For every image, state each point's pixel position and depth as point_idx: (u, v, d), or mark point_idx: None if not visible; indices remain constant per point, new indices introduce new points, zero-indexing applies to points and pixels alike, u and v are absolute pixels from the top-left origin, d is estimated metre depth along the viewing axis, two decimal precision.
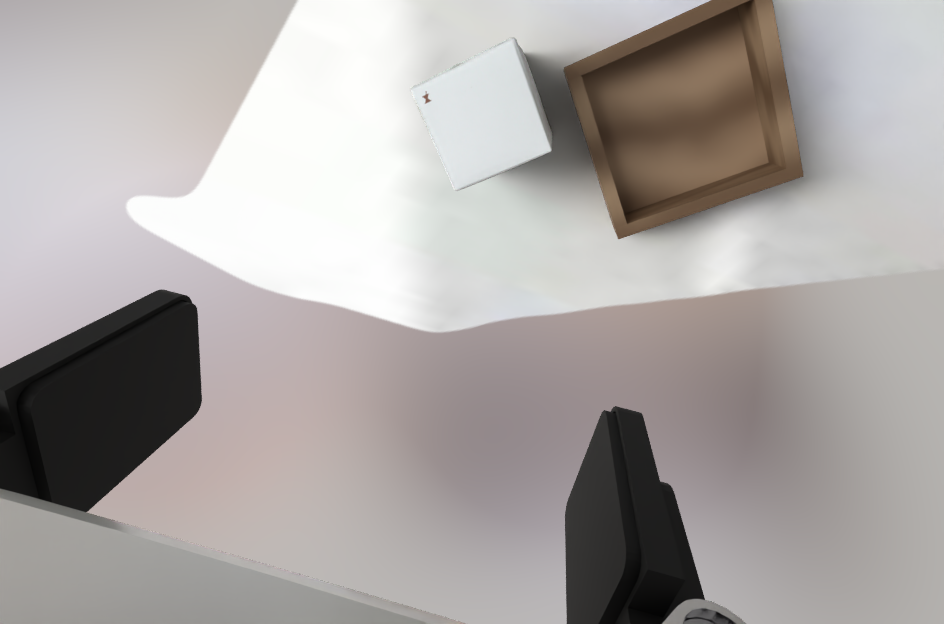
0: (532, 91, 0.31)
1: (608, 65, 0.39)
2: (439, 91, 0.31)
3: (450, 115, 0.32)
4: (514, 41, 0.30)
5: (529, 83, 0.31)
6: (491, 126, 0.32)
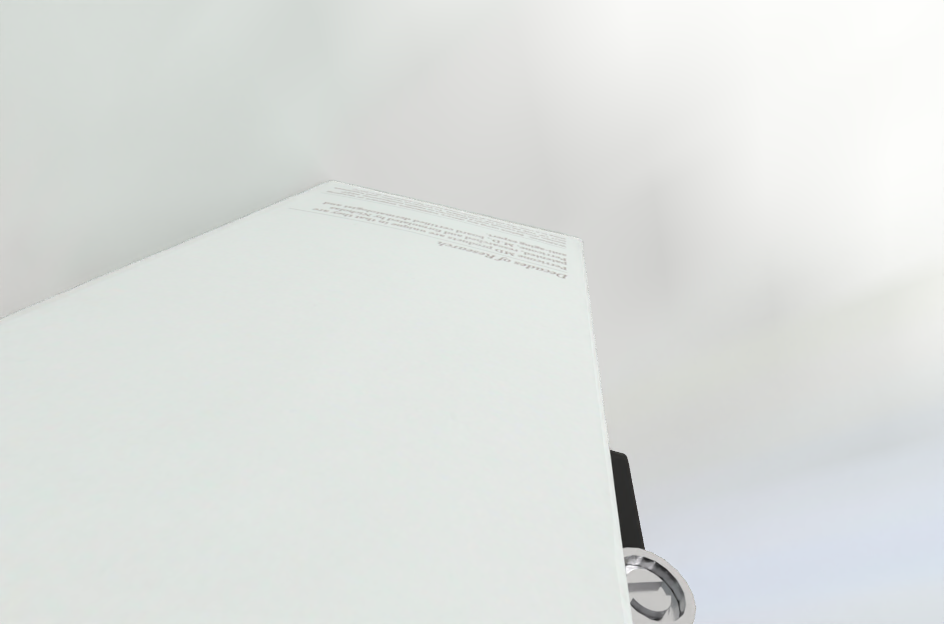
0: None
1: None
2: None
3: None
4: None
5: None
6: None
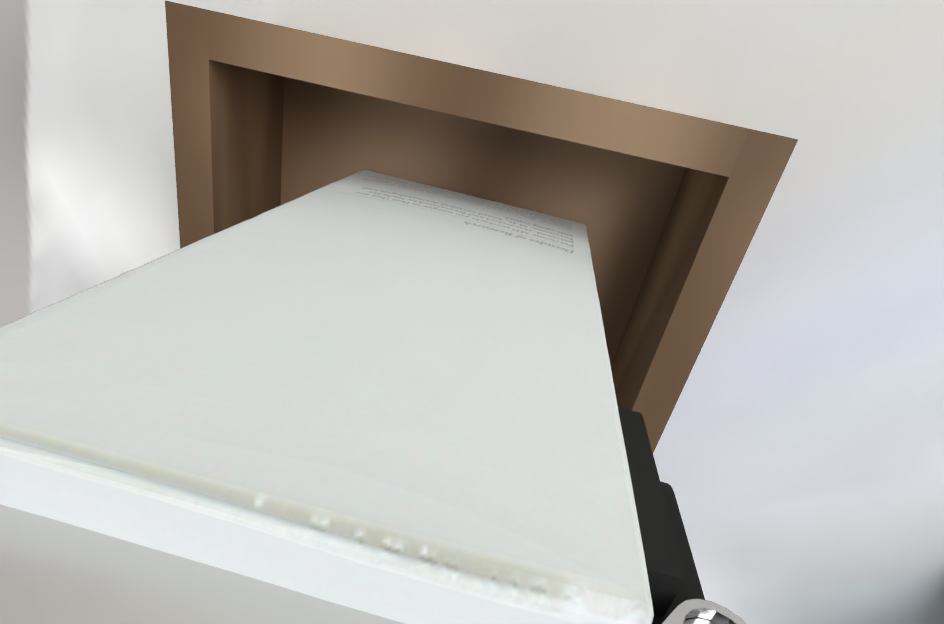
0: None
1: (656, 236, 0.15)
2: None
3: None
4: None
5: None
6: None
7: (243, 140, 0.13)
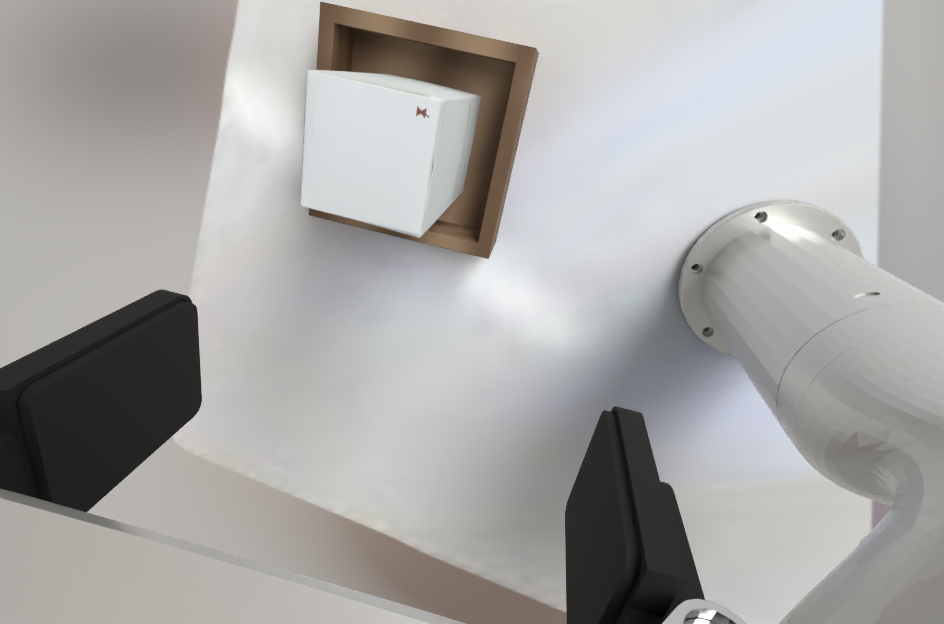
0: (365, 222, 0.27)
1: None
2: (418, 132, 0.25)
3: (389, 126, 0.25)
4: (416, 235, 0.27)
5: (373, 224, 0.27)
6: (353, 163, 0.26)
7: (340, 57, 0.34)
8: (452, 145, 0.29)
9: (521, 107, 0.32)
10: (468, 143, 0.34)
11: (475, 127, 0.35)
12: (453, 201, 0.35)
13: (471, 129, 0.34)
